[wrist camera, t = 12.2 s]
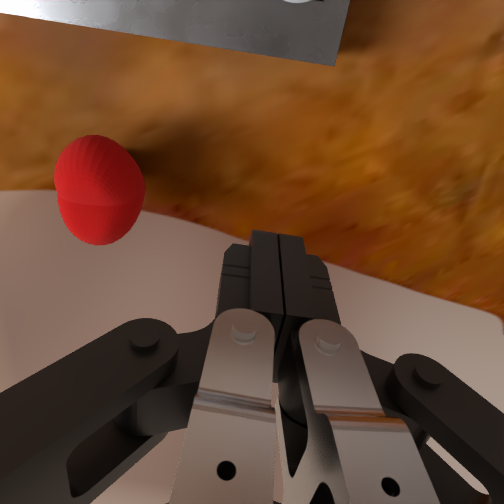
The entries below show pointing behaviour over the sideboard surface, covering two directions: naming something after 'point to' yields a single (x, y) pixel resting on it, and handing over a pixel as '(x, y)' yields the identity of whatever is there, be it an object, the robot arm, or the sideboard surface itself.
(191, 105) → the sideboard surface
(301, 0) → the cap
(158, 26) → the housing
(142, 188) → the red heart
